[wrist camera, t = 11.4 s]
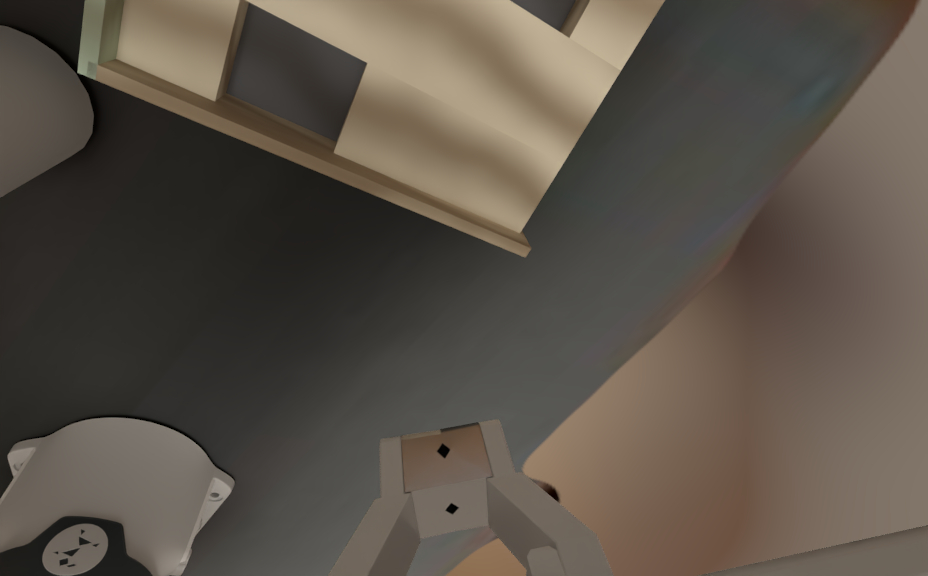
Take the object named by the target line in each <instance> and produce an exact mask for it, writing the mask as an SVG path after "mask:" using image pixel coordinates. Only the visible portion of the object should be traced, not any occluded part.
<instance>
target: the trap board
mask: <svg viewBox="0 0 928 576" xmlns="http://www.w3.org/2000/svg"><path fill="white" fill-rule="evenodd" d="M664 1H665V0H85V5H84V14H83V23H82V33H81V42H80V52H79V61H78V71H77V73H80V74H82V75H84V76H87V77H89V78H92V79H94V80H96V81H99V82H101V83H104V84H106V85H109V86H111V87H113V88H116V89H118V90H121V91H123V92H126V93H128V94H130V95H133V96H135V97H138V98H140V99H143V100H145V101H147V102H150V103H152V104H155V105H157V106H159V107H162V108H164V109H167V110H169V111H172V112H174V113H176V114H179V115H181V116H184V117H186V118H189V119H191V120H193V121H196V122H198V123H201V124H203V125H206V126H208V127H210V128H213V129H215V130H218V131H220V132H222V133H225V134H227V135H230V136H232V137H235V138H237V139H239V140H242V141H244V142H247V143H249V144H252V145H254V146H256V147H259V148H261V149H264V150H266V151H269V152H271V153H273V154H276V155H278V156H281V157H283V158H285V159H288V160H290V161H293V162H295V163H298V164H300V165H302V166H305V167H307V168H310V169H312V170H315V171H317V172H319V173H322V174H324V175H327V176H329V177H331V178H334V179H336V180H339V181H341V182H344V183H346V184H348V185H351V186H353V187H356V188H358V189H361V190H363V191H365V192H368V193H370V194H373V195H375V196H378V197H380V198H382V199H385V200H387V201H390V202H392V203H394V204H397V205H399V206H402V207H404V208H407V209H409V210H411V211H414V212H416V213H419V214H421V215H424V216H426V217H428V218H431V219H433V220H436V221H438V222H441V223H443V224H445V225H448V226H450V227H453V228H455V229H457V230H460V231H462V232H465V233H467V234H470V235H472V236H474V237H477V238H479V239H482V240H484V241H487V242H489V243H491V244H494V245H496V246H499V247H501V248H504V249H506V250H508V251H511V252H513V253H516V254H518V255H520V256H523V257H526V256H527V254H528V253H529V251H530V250H531V247H530V245H529V243H528V241H527V239H526V237H525V235H524V233H523V232H522V229H523V228H524V226H525V224H526V223H527V221H528V220H529V218H530V216H531V215H532V213H533V212H534V210H535V208H536V207H537V205H538V204H539V202H540V200H541V199H542V197H543V195H544V194H545V192H546V191H547V189H548V187H549V186H550V184H551V183H552V181H553V179H554V178H555V176H556V175H557V173H558V171H559V170H560V168H561V167H562V165H563V163H564V162H565V160H566V158H567V157H568V155H569V154H570V152H571V150H572V149H573V147H574V146H575V144H576V142H577V141H578V139H579V138H580V136H581V134H582V133H583V131H584V130H585V128H586V126H587V125H588V123H589V121H590V120H591V118H592V117H593V115H594V113H595V112H596V110H597V109H598V107H599V105H600V104H601V102H602V101H603V99H604V97H605V96H606V94H607V92H608V91H609V89H610V88H611V86H612V84H613V83H614V81H615V80H616V78H617V76H618V75H619V73H620V72H621V70H622V68H623V67H624V65H625V64H626V62H627V60H628V59H629V57H630V55H631V54H632V52H633V51H634V49H635V47H636V46H637V44H638V43H639V41H640V39H641V38H642V36H643V35H644V33H645V31H646V30H647V28H648V26H649V25H650V23H651V22H652V20H653V18H654V17H655V15H656V14H657V12H658V10H659V9H660V7H661V6H662V4H663V2H664Z"/></svg>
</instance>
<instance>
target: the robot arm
mask: <svg viewBox="0 0 928 576" xmlns="http://www.w3.org/2000/svg"><path fill="white" fill-rule="evenodd" d="M379 448H380V494H381V498H379V499H374V501H373V503H372V504H371V506H370V508H369V509H368V511H367V513H366V514H365V516H364V517H363V519H362V521H361V522H360V524H359V526H358V527H357V529H356V530H355V532H354V534H353V535H352V537H351V539H350V540H349V542H348V543H347V545H346V547H345V548H344V550H343V552H342V553H341V555H340V557H339V558H338V560H337V561H336V563H335V565H334V566H333V568H332V570H331V571H330V573H329V574H328V576H406V575H407V572H408V570H409V568H410V565H411V563H412V560H413V558H414V556H415V553H416V551H417V549H418V546H419V544H420V539H422V538H427V537H431V536H436V535H440V534H445V533H449V532H453V531H459V530H465V529H471V528H477V527H483V526H489V527H490V529H491V530H492V531H493V532H494V533H495V534H496V535H497V537H498V538H499V539H500V540H501V541H502V542H503V543H504V545H505V546H506V547H507V548H508V549H509V550H510V551H511V553H512V554H513V555H514V556H515V557H516V558H517V559H518V560H519V561H520V563H521V564H522V565H523V566H524V567H525V568H526V570H527V574H526V576H614V575H613V573H612V570H611V568H610V566H609V563H608V561H607V558H606V556H605V554H604V552H603V549H602V547H601V544H600V542H599V539H598V537H597V535H596V534H595V533H594V532H593V531H592V530H590V529H589V528H588V527H587V526H586V525H584V524H583V523H582V522H581V521H579V520H578V519H577V518H576V517H574V515H572V514H571V513H570V512H569V511H568V510H566V509H565V508H564V507H563V506H562V505H560V504H559V503H558V502H557V501H556V500H554V499H553V498H552V497H551V496H550V495H548V494H547V493H546V492H545V491H544V490H542V489H541V488H540V487H539V486H538V485H536V484H535V483H534V482H533V481H532V480H530V479H529V478H528V477H527V476H526V475H524V474H523V473H522V472H519V473H516V472H515V469H514V465H513V462H512V459H511V456H510V452H509V449H508V446H507V443H506V439H505V436H504V433H503V430H502V426H501V423H500V421H499V420H498V419H496V420H490V421H484V422H479V423H478V422H477V423H471V424H466V425H461V426H455V427H450V428H444V429H440V430H436V431H430V432H423V433H416V434H409V435H402V436H397V437H390V438H384V439H380V445H379ZM7 457H8V461H9V465H10V468H11V471H12V474H13V477H14V479H13V480H12V482H11V483H10V485H9V486H8V488H7V489H6V491H5V492H4V494H3V495H2V497H1V498H0V576H169V575H173V576H180V575H181V574H182V573H183V571H184V569H185V567H186V565H187V562H188V560H189V558H190V555H191V553H192V549H190V548H191V546H192V543H193V540H194V538H195V536H196V535H197V533H198V532H199V531H200V530H201V529H202V527H203V526H204V525H205V524H206V522H207V521H208V520H209V519H210V518H211V516H212V515H213V514H214V513H215V512H216V510H217V509H218V508H219V507H220V505H221V504H222V503H223V502H224V501H225V499H226V498H227V497H228V496H229V495H230V493H231V491H232V489H233V487H234V484H235V482H234V480H233V479H232V478H231V477H230V476H229V475H227V474H226V473H224V472H223V471H221V470H220V469H218V468H216V467H215V466H214V465H213V463H212V462H211V461H210V459H209V458H208V456H207V455H206V453H205V452H204V451H203V450H202V449H201V448H200V447H199V446H198V445H197V444H196V443H195V442H193V441H192V440H191V439H189V438H188V437H186V436H184V435H183V434H181V433H179V432H177V431H175V430H172V429H170V428H167V427H165V426H162V425H159V424H155V423H152V422H147V421H143V420H137V419H130V418H96V419H89V420H84V421H80V422H76V423H73V424H71V425H68V426H66V427H64V428H62V429H60V430H58V431H57V432H55V433H53V434H51V435H49V436H46V437H43V438H36V439H30V440H25V441H21V442H18V443H16V444H14V446H13V447H12V449H11V450H10V452H9V454H8V456H7ZM454 529H455V530H454ZM699 576H928V525H926V526H922V527H917V528H913V529H908V530H903V531H899V532H894V533H890V534H885V535H881V536H876V537H871V538H867V539H862V540H858V541H853V542H849V543H845V544H840V545H836V546H831V547H826V548H822V549H817V550H812V551H808V552H804V553H799V554H794V555H790V556H785V557H781V558H777V559H772V560H767V561H763V562H758V563H754V564H749V565H744V566H740V567H736V568H731V569H727V570H722V571H717V572H713V573H708V574H704V575H699Z"/></svg>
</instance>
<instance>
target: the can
mask: <svg viewBox="0 0 928 576" xmlns="http://www.w3.org/2000/svg"><path fill="white" fill-rule="evenodd" d="M93 119H94V113H93V110H92V106H91V102H90V98H89V95H88V93H87V91H86V89H85V88H84V86H83V84H82V83H81V81H80V79H79V78H78V76H77V74H76V73H75V72H74V71H73V70H72V69H71V67H70V66H69V65H68V64H67V63H66V62H65V61H64V60H63V59H62V58H61V57H60V56H59V55H58V54H57V53H56V52H54V51H53V50H52V49H50V48H49V47H47V46H46V45H44V44H43V43H41V42H40V41H38V40H37V39H35V38H34V37H32V36H30V35H27V34H25V33H22V32H20V31H17V30H15V29H12V28H10V27H7V26H1V25H0V197H2V196H4V195H5V194H7V193H9V192H11V191H12V190H14V189H16V188H17V187H19V186H21V185H23V184H24V183H26V182H28V181H29V180H31V179H33V178H35V177H36V176H38V175H40V174H42V173H43V172H45V171H47V170H48V169H50V168H52V167H54V166H55V165H57V164H59V163H60V162H62V161H64V160H66V159H67V158H69V157H71V156H72V155H74V154H75V153H76V152H78V151H79V150H81V149H82V148H84V146H85V145H86V143H87V141H88V140H89V138H90V136H91V134H92V131H93Z"/></svg>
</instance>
